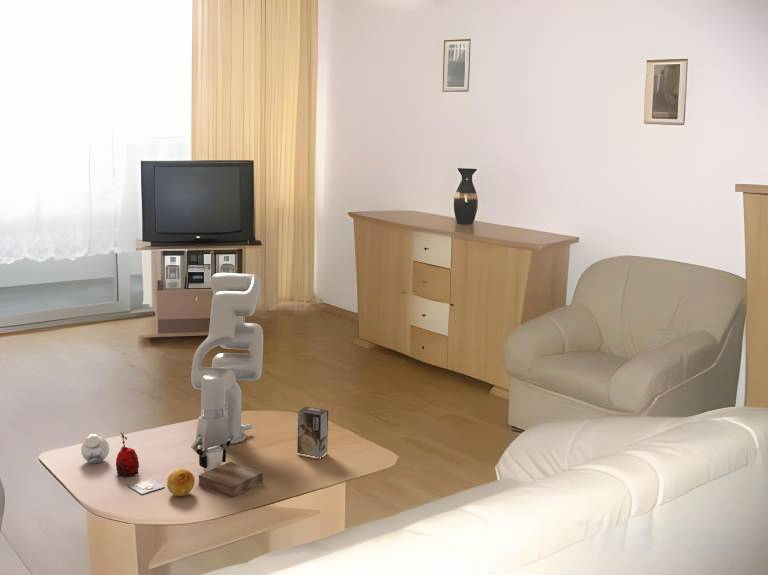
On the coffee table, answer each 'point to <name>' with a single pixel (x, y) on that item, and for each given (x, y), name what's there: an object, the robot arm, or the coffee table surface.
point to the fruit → (180, 482)
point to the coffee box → (312, 431)
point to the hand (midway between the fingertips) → (212, 463)
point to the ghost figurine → (95, 448)
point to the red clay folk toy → (127, 461)
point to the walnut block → (230, 479)
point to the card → (146, 486)
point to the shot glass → (214, 457)
